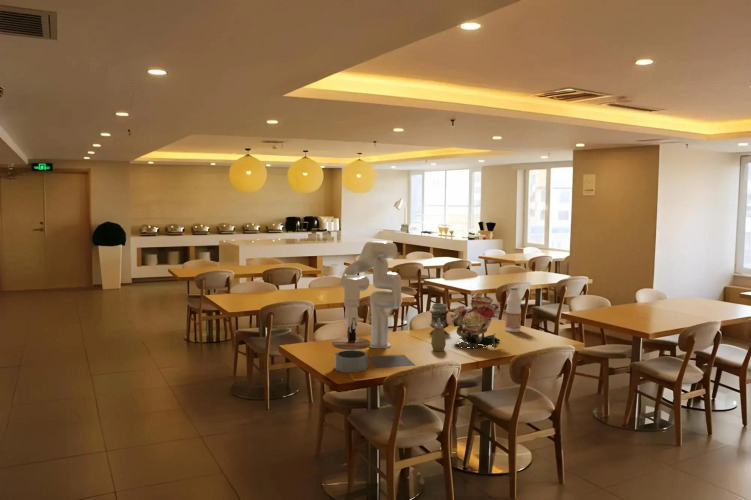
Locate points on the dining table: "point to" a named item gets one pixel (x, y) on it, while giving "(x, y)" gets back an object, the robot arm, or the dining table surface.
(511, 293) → the fruit juice
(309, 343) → the dining table surface
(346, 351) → the slate bowl
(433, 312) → the apothecary jar
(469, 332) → the rose bouquet
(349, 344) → the walnut lid
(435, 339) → the squeeze bottle
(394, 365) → the gray square mat
